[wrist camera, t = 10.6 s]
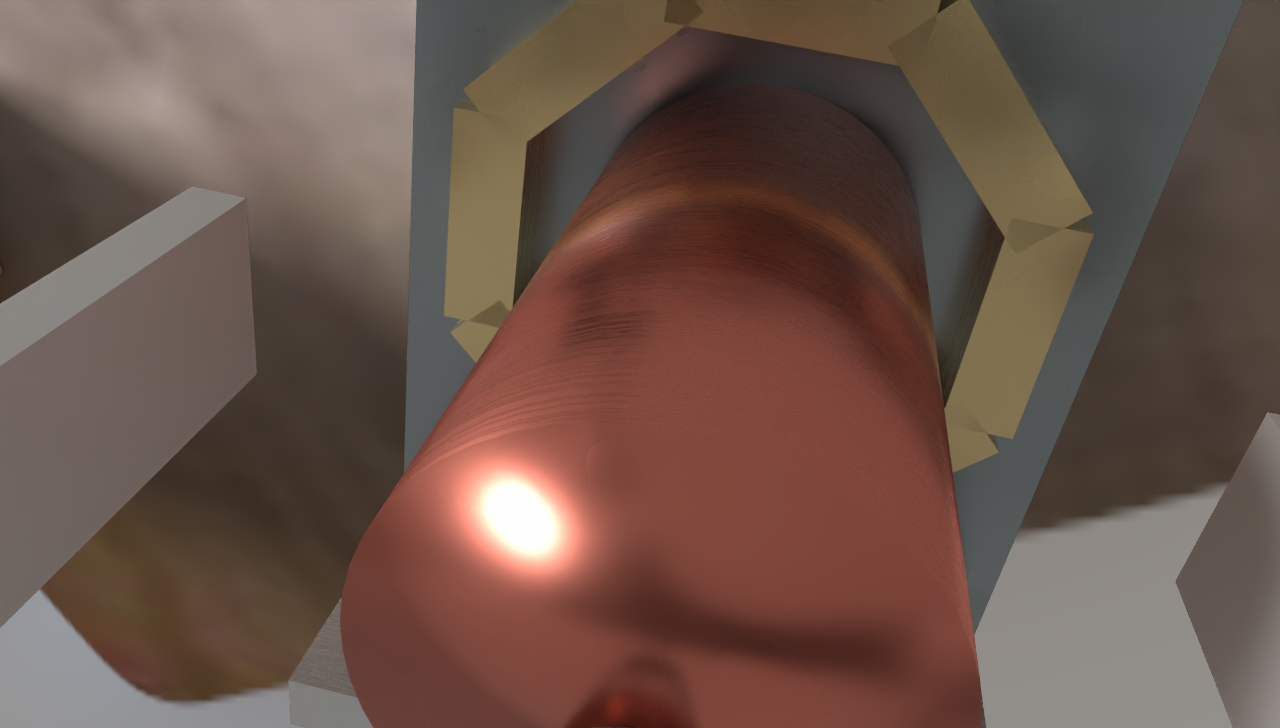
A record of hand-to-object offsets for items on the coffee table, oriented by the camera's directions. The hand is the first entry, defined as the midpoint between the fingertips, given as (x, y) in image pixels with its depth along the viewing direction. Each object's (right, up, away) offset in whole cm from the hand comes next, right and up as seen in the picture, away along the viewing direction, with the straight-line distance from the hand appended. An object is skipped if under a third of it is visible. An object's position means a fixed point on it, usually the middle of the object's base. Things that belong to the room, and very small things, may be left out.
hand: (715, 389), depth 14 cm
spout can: (+1, +2, +4) cm, 5 cm away
